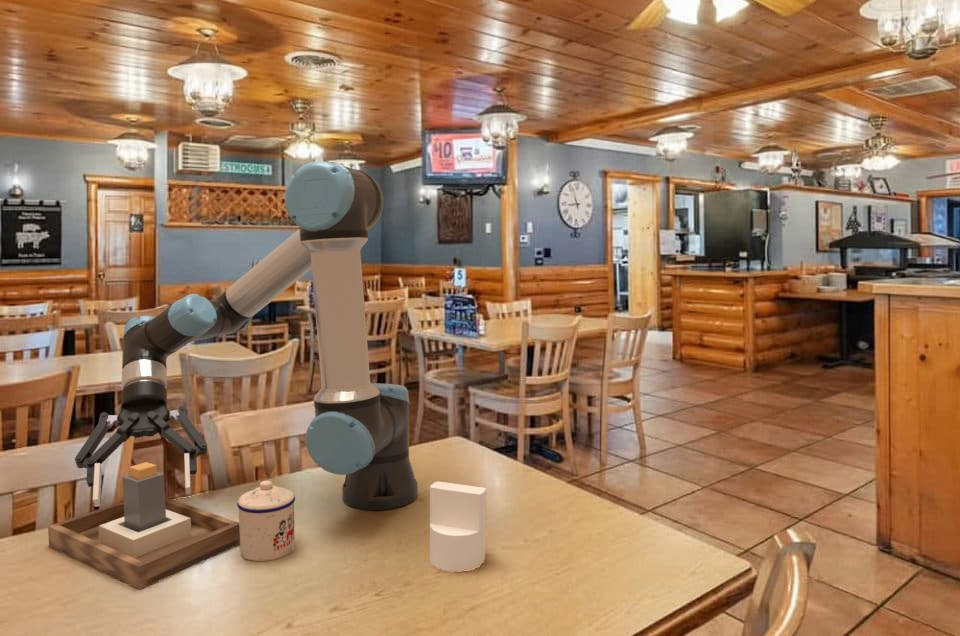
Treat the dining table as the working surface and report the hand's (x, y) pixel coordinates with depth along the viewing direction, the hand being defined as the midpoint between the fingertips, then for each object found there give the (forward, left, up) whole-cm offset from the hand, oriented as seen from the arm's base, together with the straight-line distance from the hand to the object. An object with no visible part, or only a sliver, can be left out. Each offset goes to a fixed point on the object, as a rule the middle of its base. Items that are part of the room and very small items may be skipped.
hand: (143, 497), depth 108 cm
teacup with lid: (-18, -11, -9) cm, 23 cm away
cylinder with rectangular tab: (-47, -24, -9) cm, 53 cm away
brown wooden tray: (0, 0, -8) cm, 8 cm away
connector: (0, 0, -7) cm, 7 cm away
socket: (0, 0, -7) cm, 7 cm away
